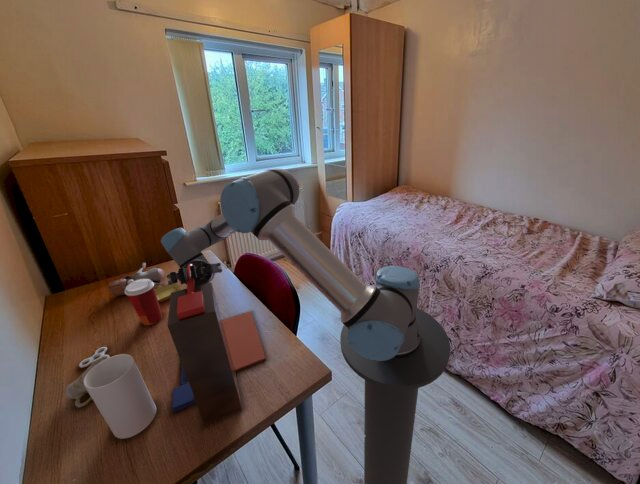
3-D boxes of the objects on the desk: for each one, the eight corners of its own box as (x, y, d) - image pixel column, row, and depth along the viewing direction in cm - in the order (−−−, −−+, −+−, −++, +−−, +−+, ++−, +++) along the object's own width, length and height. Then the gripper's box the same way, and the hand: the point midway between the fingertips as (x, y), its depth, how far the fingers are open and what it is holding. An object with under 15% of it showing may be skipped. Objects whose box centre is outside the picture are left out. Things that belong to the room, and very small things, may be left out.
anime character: (172, 274, 108) (115, 297, 96) (177, 288, 110) (122, 312, 98) (150, 254, 123) (98, 272, 111) (154, 267, 125) (104, 285, 113)
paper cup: (167, 309, 99) (155, 275, 94) (163, 323, 93) (149, 288, 87) (141, 315, 97) (127, 280, 91) (135, 330, 90) (119, 294, 85)
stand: (235, 372, 76) (211, 281, 64) (242, 408, 67) (215, 311, 55) (202, 385, 72) (170, 292, 60) (204, 425, 63) (167, 325, 51)
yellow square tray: (151, 295, 107) (150, 290, 106) (176, 285, 113) (175, 280, 112) (158, 305, 101) (156, 300, 101) (184, 294, 107) (183, 289, 106)
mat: (251, 312, 97) (251, 311, 97) (265, 359, 79) (265, 357, 79) (213, 324, 92) (212, 323, 92) (219, 377, 74) (218, 376, 74)
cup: (123, 406, 68) (96, 358, 61) (161, 398, 69) (140, 350, 63) (105, 443, 60) (73, 393, 54) (148, 432, 62) (123, 382, 56)
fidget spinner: (77, 369, 77) (76, 367, 77) (90, 351, 83) (89, 349, 83) (107, 363, 79) (106, 361, 79) (117, 345, 85) (116, 343, 84)
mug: (66, 393, 71) (77, 353, 72) (115, 388, 77) (125, 351, 77) (58, 411, 65) (70, 367, 66) (112, 404, 71) (122, 364, 71)
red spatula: (180, 270, 68) (179, 265, 68) (201, 265, 70) (199, 260, 69) (178, 319, 53) (176, 313, 52) (204, 312, 54) (203, 306, 54)
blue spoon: (176, 353, 82) (175, 349, 81) (193, 347, 84) (192, 343, 83) (174, 412, 66) (172, 408, 66) (195, 403, 68) (193, 399, 68)
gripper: (227, 279, 85) (227, 280, 63) (172, 293, 79) (151, 300, 57) (221, 254, 85) (219, 248, 64) (166, 267, 79) (143, 264, 58)
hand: (187, 273), depth 61 cm, fingers closed on red spatula
